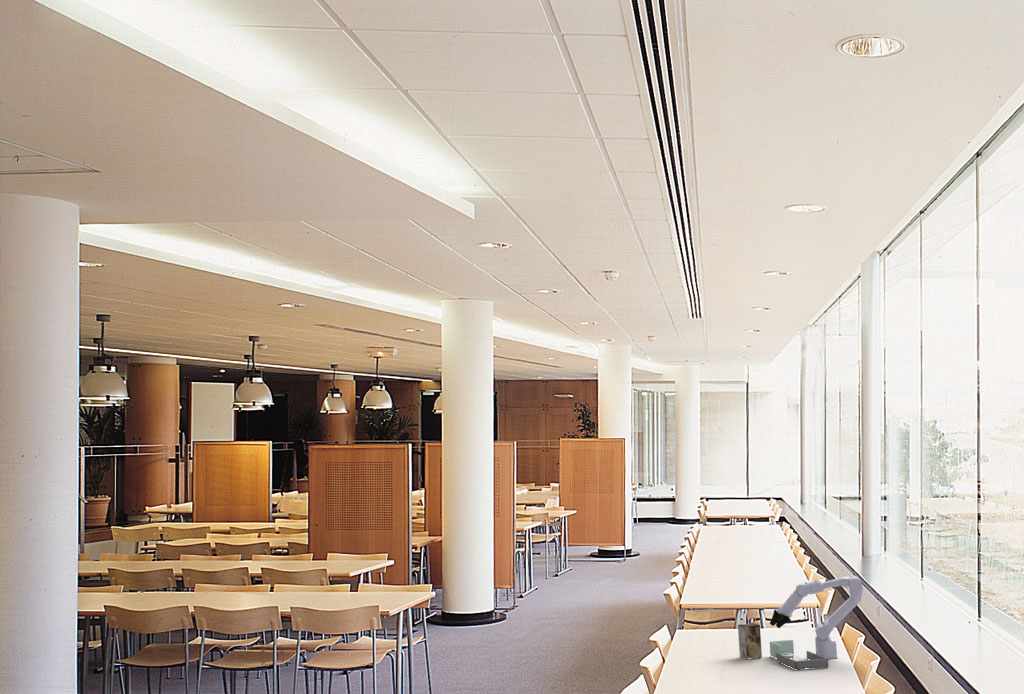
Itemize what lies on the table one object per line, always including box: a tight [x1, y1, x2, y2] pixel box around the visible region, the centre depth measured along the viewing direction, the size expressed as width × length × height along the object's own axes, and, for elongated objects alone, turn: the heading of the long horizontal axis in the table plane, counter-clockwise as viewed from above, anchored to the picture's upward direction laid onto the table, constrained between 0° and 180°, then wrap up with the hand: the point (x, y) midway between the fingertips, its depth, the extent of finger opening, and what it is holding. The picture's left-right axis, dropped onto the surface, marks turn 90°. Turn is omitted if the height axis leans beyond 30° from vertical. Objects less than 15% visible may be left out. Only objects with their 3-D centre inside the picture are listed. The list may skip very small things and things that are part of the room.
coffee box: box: [737, 622, 763, 660], centre depth 522 cm, size 9×6×16 cm
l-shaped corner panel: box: [769, 639, 795, 659], centre depth 518 cm, size 12×12×8 cm
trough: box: [776, 650, 829, 670], centre depth 502 cm, size 17×20×4 cm
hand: (774, 625), depth 523 cm, fingers open, 7 cm apart
